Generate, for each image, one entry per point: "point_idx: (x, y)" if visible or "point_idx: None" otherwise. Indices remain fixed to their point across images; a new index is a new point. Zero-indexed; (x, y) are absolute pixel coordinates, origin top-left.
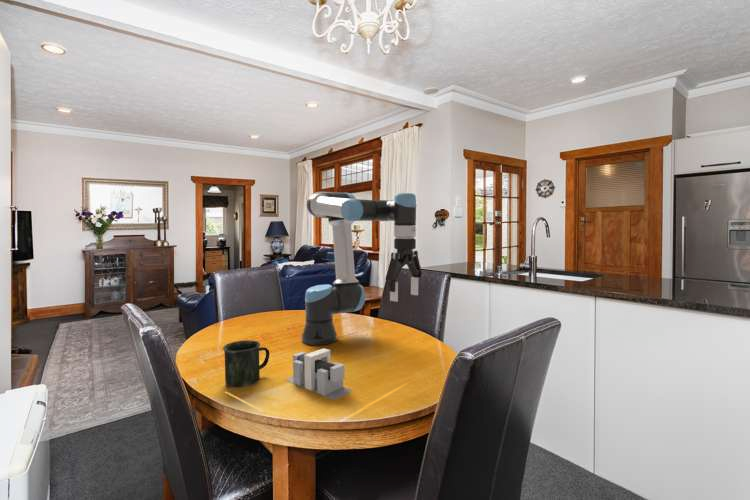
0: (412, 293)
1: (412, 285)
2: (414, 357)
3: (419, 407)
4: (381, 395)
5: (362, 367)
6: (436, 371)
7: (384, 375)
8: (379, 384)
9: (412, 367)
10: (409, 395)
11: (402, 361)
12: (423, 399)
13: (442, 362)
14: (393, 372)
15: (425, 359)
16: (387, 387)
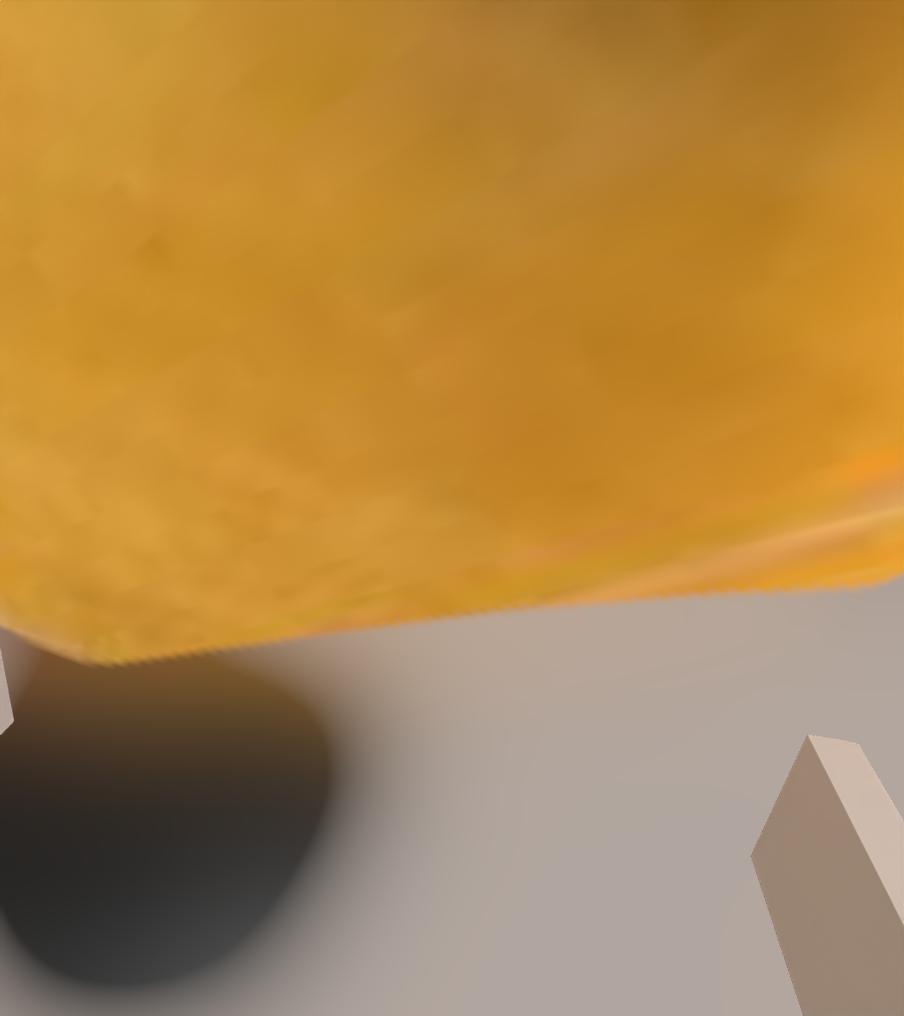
0: (800, 794)
1: (897, 1007)
2: (657, 386)
3: (38, 637)
4: (4, 446)
5: (255, 97)
6: (466, 594)
7: (230, 336)
8: (101, 372)
9: (455, 446)
10: (102, 565)
11: (531, 337)
12: (112, 630)
13: (635, 586)
14: (307, 368)
15: (647, 473)
16: (101, 432)
